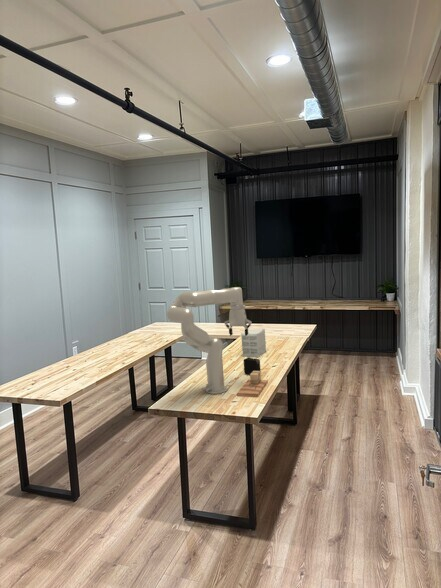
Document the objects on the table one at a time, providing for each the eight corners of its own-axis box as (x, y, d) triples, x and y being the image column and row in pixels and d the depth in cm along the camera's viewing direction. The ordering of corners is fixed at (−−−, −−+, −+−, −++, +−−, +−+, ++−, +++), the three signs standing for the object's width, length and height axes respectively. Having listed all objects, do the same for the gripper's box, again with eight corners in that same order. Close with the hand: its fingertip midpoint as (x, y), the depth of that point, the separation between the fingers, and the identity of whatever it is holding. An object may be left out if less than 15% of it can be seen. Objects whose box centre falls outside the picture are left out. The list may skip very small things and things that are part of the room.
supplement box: (250, 351, 330) (248, 328, 328) (266, 351, 324) (265, 328, 322) (242, 356, 314) (240, 333, 312) (258, 357, 309) (257, 333, 307)
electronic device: (248, 372, 276) (247, 357, 275) (260, 374, 270) (259, 359, 268) (244, 374, 273) (243, 359, 272) (257, 376, 266) (256, 360, 265)
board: (257, 397, 231) (257, 394, 230) (236, 395, 235) (236, 393, 234) (267, 382, 253) (267, 380, 253) (248, 381, 257) (248, 379, 257)
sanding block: (258, 384, 246) (257, 374, 245) (250, 384, 248) (249, 374, 247) (261, 380, 253) (260, 371, 252) (253, 380, 254) (253, 370, 253)
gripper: (252, 306, 257) (254, 333, 259) (225, 306, 262) (227, 333, 264) (248, 308, 250) (250, 336, 252) (221, 308, 255) (223, 336, 257)
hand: (238, 335), depth 258 cm, fingers open, 9 cm apart
